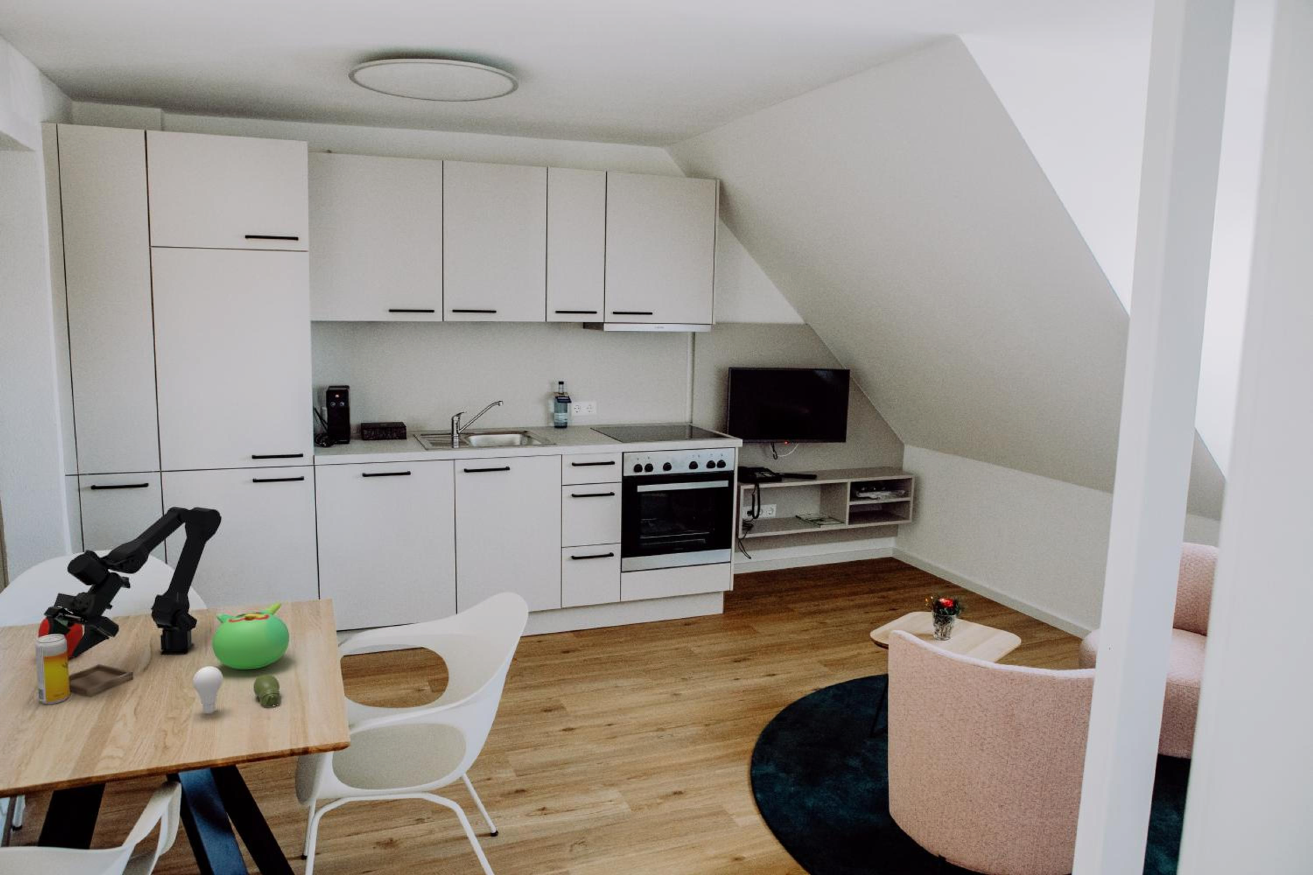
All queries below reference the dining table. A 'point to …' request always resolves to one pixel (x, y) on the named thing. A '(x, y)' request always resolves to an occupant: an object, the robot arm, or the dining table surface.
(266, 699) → the olive green rounded piece
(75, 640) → the apple
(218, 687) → the lightbulb
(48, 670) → the beer can
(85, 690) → the tray
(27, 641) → the dining table surface
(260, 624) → the toy bird
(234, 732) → the dining table surface
